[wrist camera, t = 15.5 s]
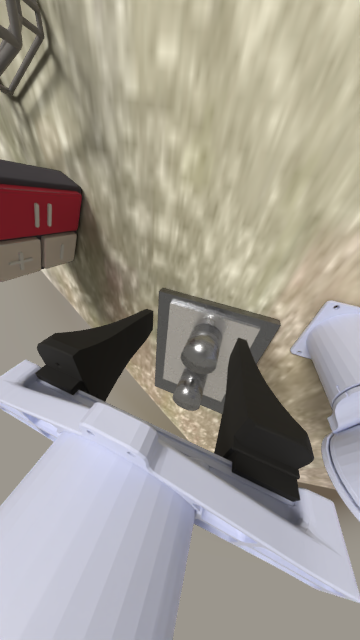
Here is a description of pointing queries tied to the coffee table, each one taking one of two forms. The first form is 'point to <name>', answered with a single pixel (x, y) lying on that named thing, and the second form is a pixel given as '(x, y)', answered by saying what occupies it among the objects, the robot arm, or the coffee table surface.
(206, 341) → the cylinder
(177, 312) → the pan
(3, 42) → the geometric lantern
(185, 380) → the cylinder
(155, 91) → the coffee table surface
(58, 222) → the grey and red box
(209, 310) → the base
